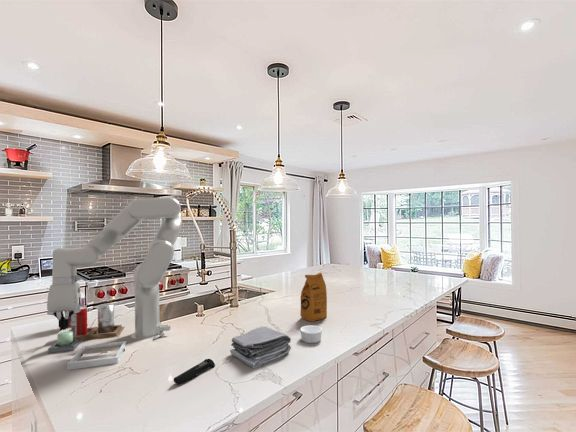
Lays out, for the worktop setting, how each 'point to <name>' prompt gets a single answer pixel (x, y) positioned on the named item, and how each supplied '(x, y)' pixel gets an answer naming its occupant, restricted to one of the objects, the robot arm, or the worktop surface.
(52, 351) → the button box
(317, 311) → the coffee package
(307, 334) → the ramekin
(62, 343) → the button
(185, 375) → the electric trimmer
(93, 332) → the wooden compartment tray
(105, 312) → the steel billet
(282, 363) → the worktop surface
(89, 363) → the white square frame
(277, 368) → the worktop surface
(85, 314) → the soda can
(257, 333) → the towel
